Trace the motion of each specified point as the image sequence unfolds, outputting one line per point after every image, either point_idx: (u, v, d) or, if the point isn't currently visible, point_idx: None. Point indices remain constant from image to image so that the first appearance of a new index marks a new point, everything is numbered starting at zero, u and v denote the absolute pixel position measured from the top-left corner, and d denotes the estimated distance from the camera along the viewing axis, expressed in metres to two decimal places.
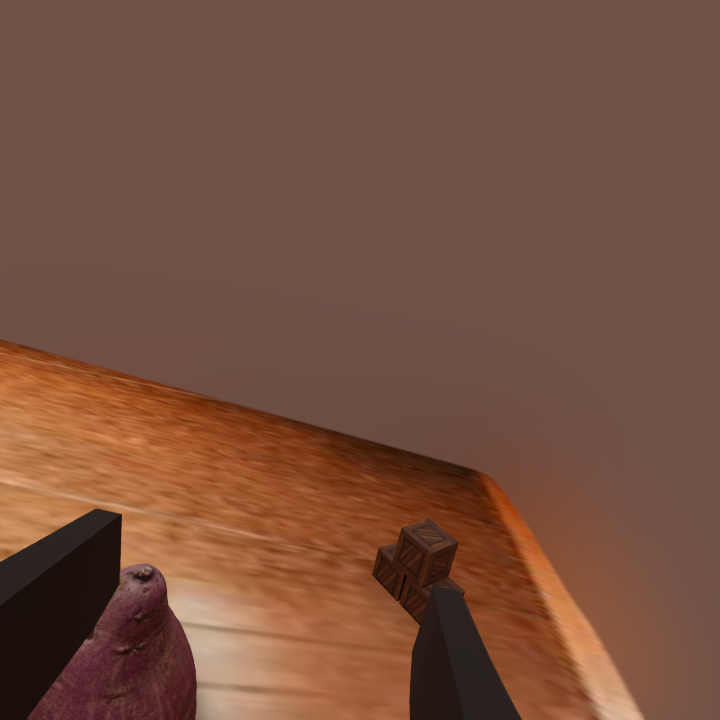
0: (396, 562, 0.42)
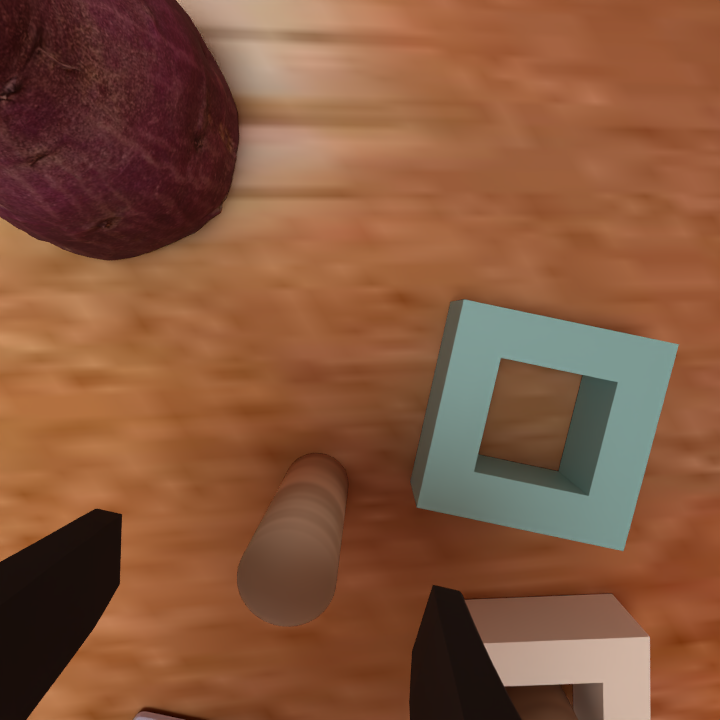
0: None
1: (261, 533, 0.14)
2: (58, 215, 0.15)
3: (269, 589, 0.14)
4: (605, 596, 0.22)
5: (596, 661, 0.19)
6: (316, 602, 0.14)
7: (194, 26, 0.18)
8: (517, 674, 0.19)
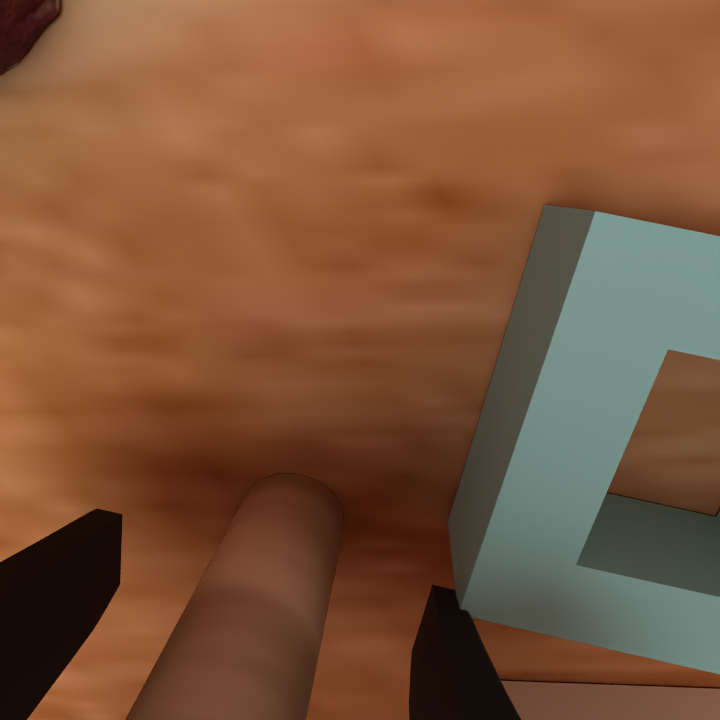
0: None
1: None
2: None
3: None
4: None
5: None
6: None
7: None
8: None
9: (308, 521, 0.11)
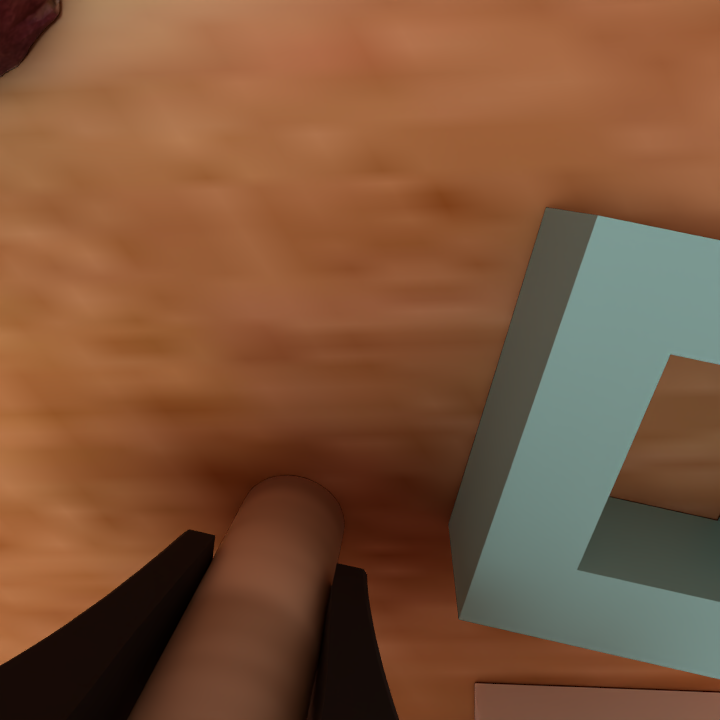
0: None
1: None
2: None
3: None
4: None
5: None
6: None
7: None
8: None
9: (308, 524, 0.11)
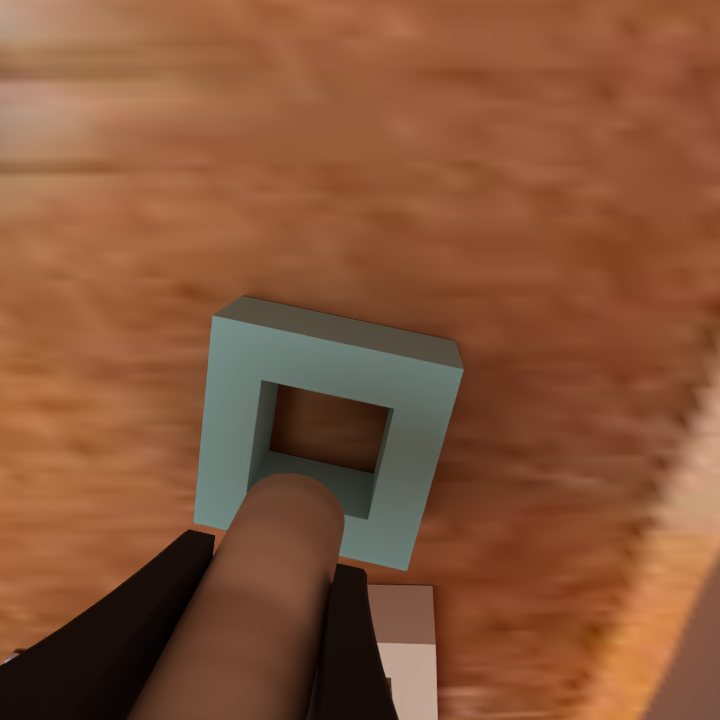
0: None
1: None
2: None
3: None
4: (423, 588, 0.22)
5: (383, 660, 0.20)
6: None
7: None
8: None
9: (310, 522, 0.11)
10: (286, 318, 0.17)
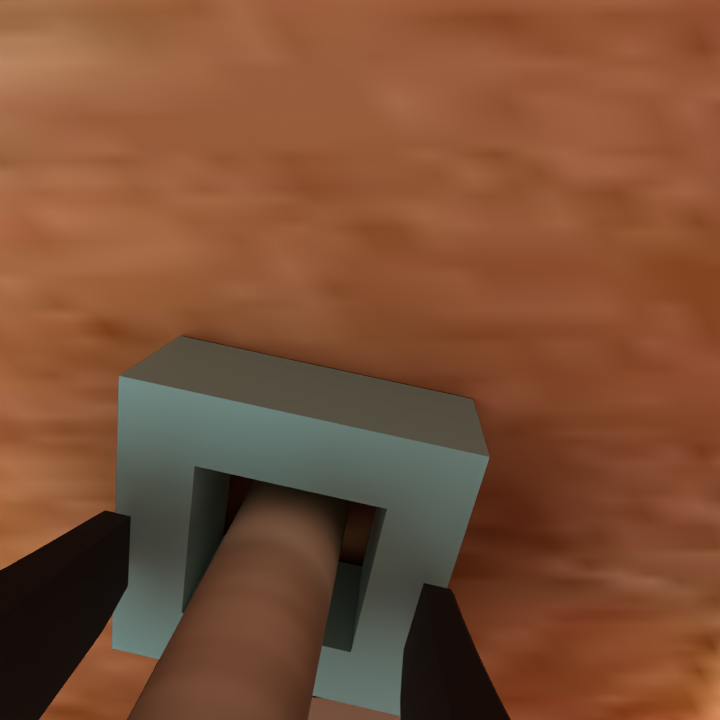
0: None
1: None
2: None
3: None
4: None
5: None
6: None
7: None
8: None
9: None
10: (234, 373, 0.12)
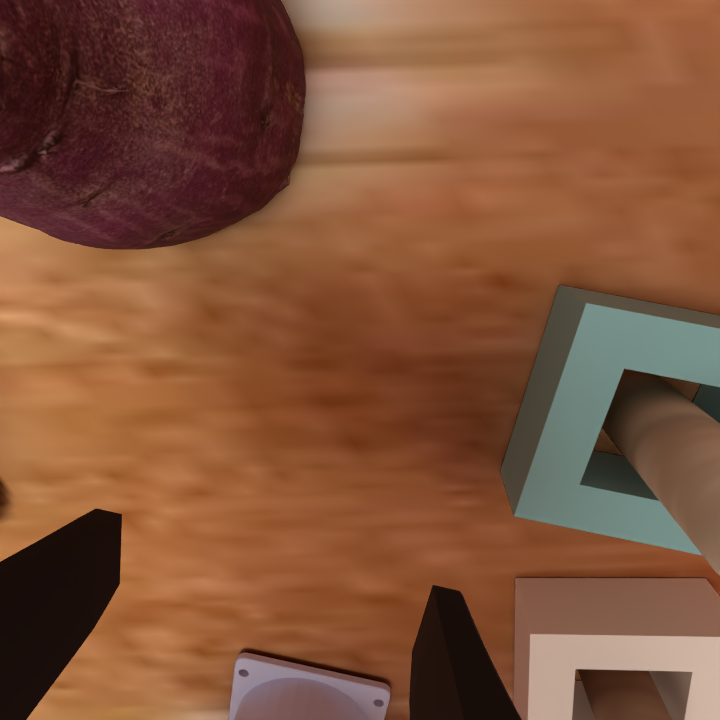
0: None
1: None
2: (117, 239, 0.13)
3: None
4: (699, 581, 0.21)
5: (688, 654, 0.19)
6: None
7: None
8: (604, 660, 0.20)
9: (678, 392, 0.17)
10: (634, 305, 0.16)
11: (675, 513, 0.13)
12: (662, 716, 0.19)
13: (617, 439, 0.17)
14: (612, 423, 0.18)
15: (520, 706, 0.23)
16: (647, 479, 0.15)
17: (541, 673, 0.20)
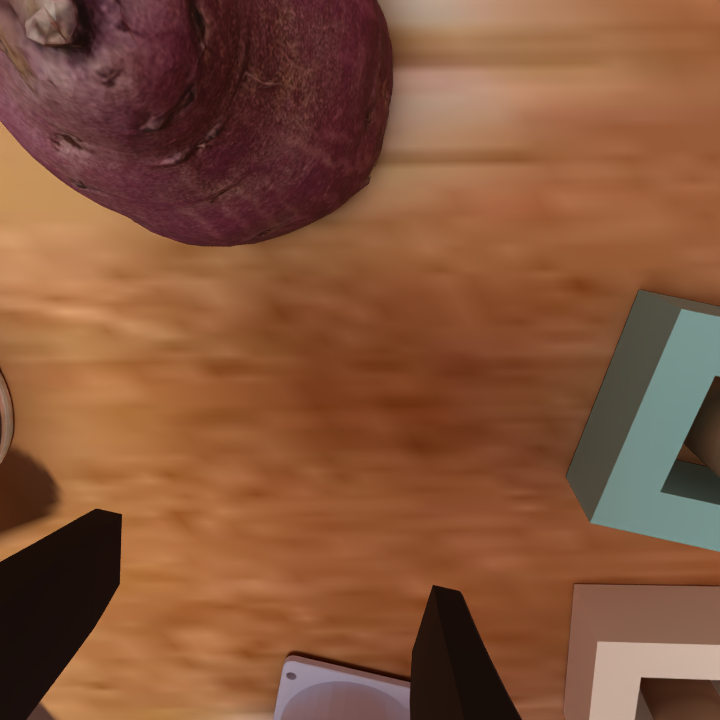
0: None
1: None
2: (222, 236, 0.13)
3: None
4: None
5: None
6: None
7: None
8: (671, 669, 0.20)
9: None
10: None
11: None
12: None
13: (699, 446, 0.17)
14: (692, 430, 0.17)
15: (576, 713, 0.23)
16: None
17: (605, 681, 0.20)
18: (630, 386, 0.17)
